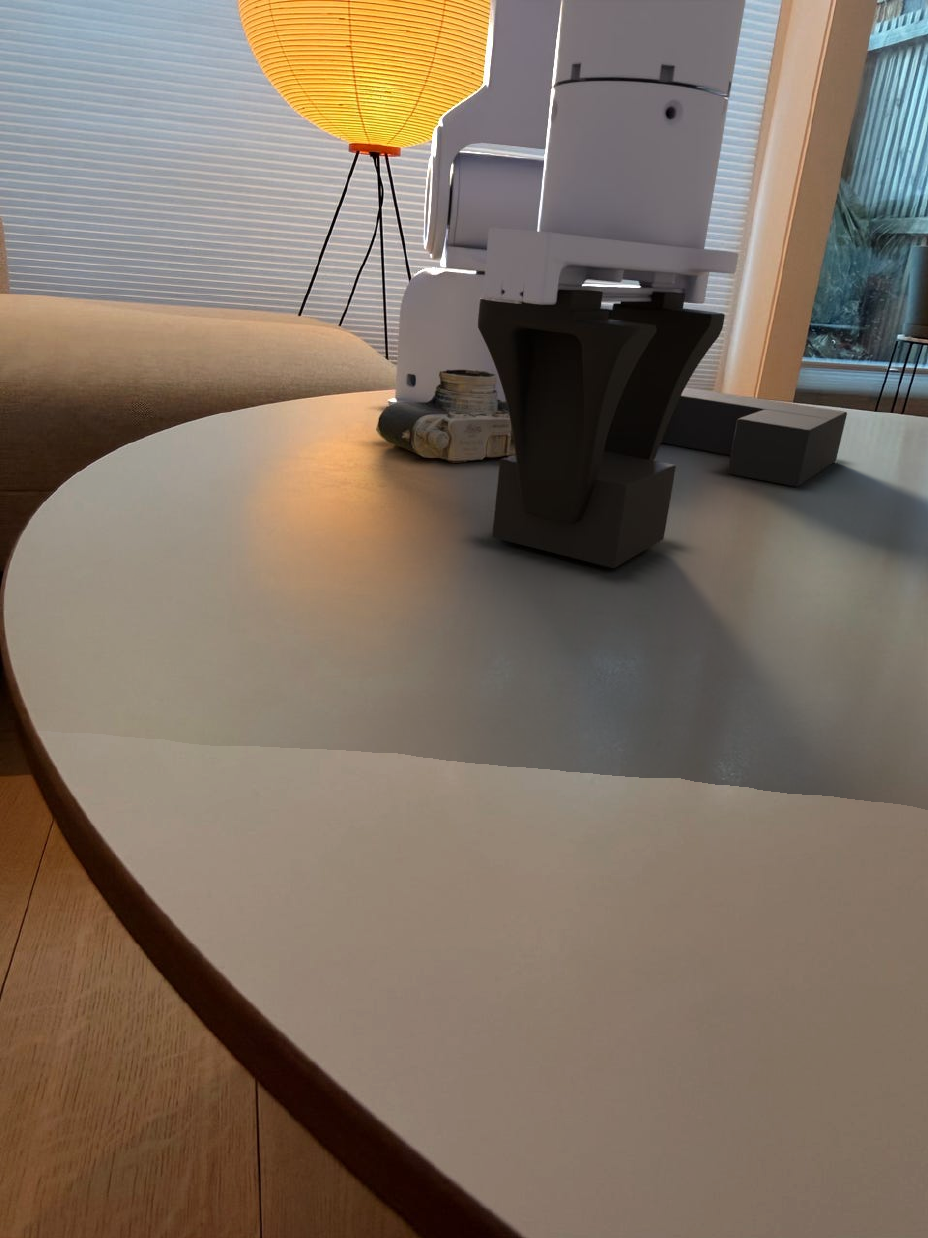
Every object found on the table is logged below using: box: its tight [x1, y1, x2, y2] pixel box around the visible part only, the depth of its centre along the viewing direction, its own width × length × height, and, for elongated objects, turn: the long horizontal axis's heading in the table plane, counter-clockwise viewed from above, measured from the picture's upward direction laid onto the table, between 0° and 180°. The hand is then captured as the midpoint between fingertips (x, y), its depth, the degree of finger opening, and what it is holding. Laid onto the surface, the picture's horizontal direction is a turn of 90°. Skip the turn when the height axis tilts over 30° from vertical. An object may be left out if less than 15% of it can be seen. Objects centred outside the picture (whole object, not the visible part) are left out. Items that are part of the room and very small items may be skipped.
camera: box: [375, 369, 515, 464], centre depth 50 cm, size 5×10×4 cm, turn 123°
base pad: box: [661, 386, 848, 488], centre depth 56 cm, size 14×10×3 cm
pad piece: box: [492, 451, 677, 569], centre depth 35 cm, size 5×5×3 cm
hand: (584, 503), depth 35 cm, fingers closed on pad piece, 5 cm apart
